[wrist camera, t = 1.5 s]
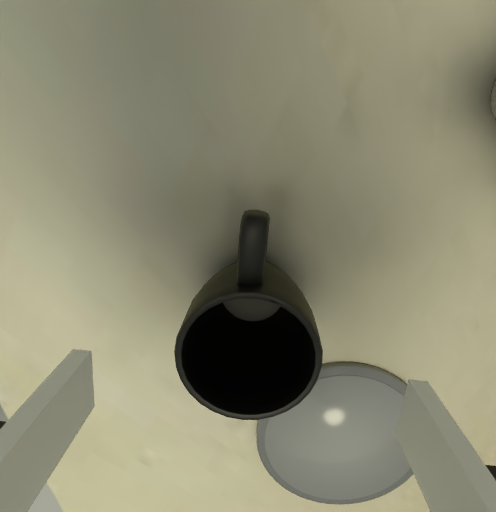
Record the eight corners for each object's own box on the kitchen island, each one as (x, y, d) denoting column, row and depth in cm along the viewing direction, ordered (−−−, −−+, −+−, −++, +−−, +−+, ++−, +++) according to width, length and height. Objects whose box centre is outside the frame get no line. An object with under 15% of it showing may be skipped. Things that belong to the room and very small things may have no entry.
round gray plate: (264, 354, 31) (265, 360, 30) (444, 370, 31) (449, 377, 30) (250, 488, 36) (250, 497, 35) (406, 503, 35) (409, 512, 35)
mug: (318, 196, 27) (346, 227, 18) (297, 341, 31) (312, 427, 21) (205, 186, 27) (176, 212, 18) (199, 332, 31) (172, 414, 22)
